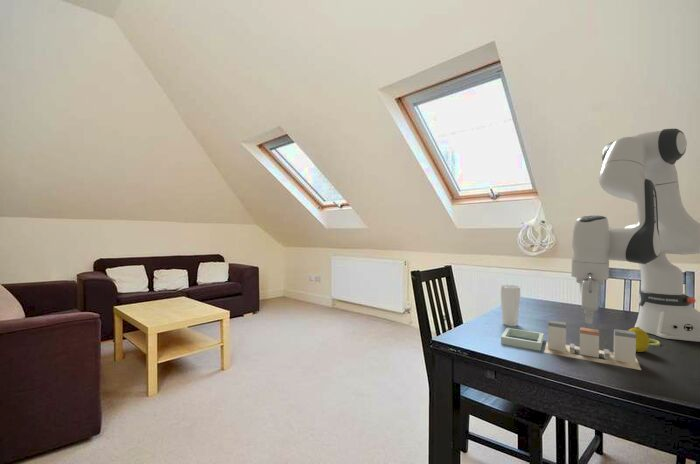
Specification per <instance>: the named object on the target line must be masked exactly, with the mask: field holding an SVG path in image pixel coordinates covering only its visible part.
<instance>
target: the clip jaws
mask: <svg viewBox="0 0 700 464" xmlns="http://www.w3.org/2000/svg"><path fill="white" fill-rule="evenodd" d="M569 345H570V353H572V354H575V355H576V351H575V350H576V349H575V346H576V345H575V343H571V342H570V343H569ZM603 351H604V354H603V358H604V359H603V360H610V352H611V351H610V349H608V348H603Z"/></svg>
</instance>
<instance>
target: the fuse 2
mask: <svg viewBox="0 0 700 464" xmlns="http://www.w3.org/2000/svg"><path fill="white" fill-rule="evenodd" d="M613 352H614V356H613V357H614V360H615V361H621V362H627V363H633V364H635V362H636V359H637V356H636V355H637V353H636V334H635V332H633V331H628V330H625V329H624V330H623V329H616V328H613Z"/></svg>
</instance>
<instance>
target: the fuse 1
mask: <svg viewBox="0 0 700 464" xmlns="http://www.w3.org/2000/svg"><path fill="white" fill-rule="evenodd" d="M547 327H548V328H547V330H548V331H547V334H548V335H547V342H548V349H553V350H558V351H564V352H566V345H567V322H564V321H558V320H556V321H555V320H551V319H550V320H548V326H547Z"/></svg>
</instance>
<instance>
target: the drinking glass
mask: <svg viewBox="0 0 700 464" xmlns="http://www.w3.org/2000/svg"><path fill="white" fill-rule="evenodd" d="M500 303H501V305H500V306H501V317H502V319H501V321H502V322H501V323H502V324H503V325H505V326H508V327H509V326H510V327H516V326H519V313H520V305H521V287H520V286H519V285H512V284H503V285H500Z"/></svg>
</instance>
